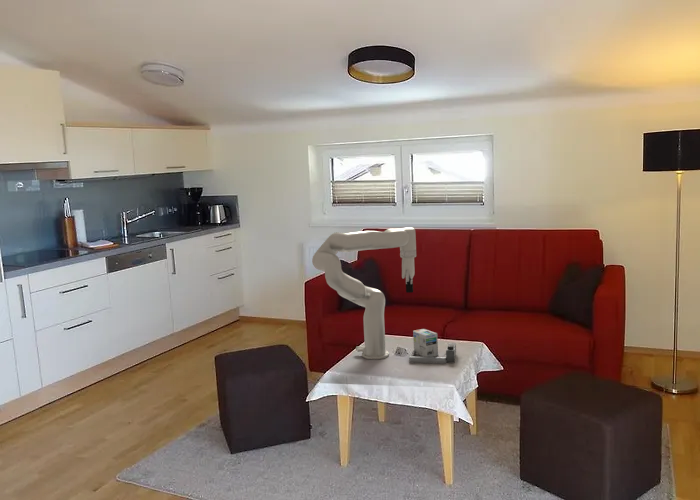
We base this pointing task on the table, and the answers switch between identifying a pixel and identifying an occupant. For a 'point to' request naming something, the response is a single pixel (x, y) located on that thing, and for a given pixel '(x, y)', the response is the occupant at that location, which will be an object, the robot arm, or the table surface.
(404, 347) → the table surface
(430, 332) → the light bulb box
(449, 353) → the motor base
